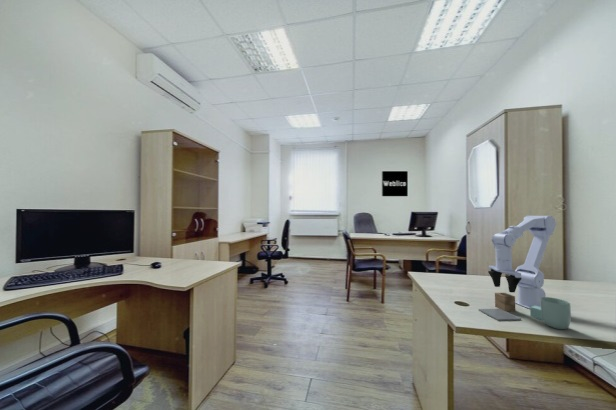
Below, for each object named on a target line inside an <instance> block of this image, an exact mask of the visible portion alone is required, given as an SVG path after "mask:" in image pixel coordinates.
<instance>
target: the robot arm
mask: <svg viewBox="0 0 616 410" xmlns="http://www.w3.org/2000/svg"><path fill="white" fill-rule="evenodd" d="M556 226H557V223H556V220H555V218H554V217H553V216H552V215H526V216H524V217H523V221H521V222H520V223H518V225H510V226H508V228H506V229H504V230H502V231H501V232H498V233H495V234H493V235H492V238H491V242H492V244H493V248H494V250H495V252H494V253H495V265H488V272H487V273H488V274H489V275H490V278H491V280H492V283H493V286H494V287H495V288H500V287H501V278H502V274H505V279H506V281H507V286H508V292H509V293H516V290H517V300H515V304H517V305H519V306H522V307H525V308H527V309H529V310H530V307H532V306H539V307H541V298H542V297H547V296H546V292H545V290H544V289H543V288H542V287H543V285H544V284H545V274H544V272H543V271H542V270H540V267H541V263H542V261H543V258H544V254H545V252H546V248H547V246H548V243H549V240H550V237H551V236H552V235H554V232H555V228H556ZM526 231H528V232H529V233H530V234H531V235H533V238H532V241H531V244H530V245H529V246H530V247H529V249H528V252H527V254H526V258H525V261H524V263H523V264H521V265H518V266H517V267H516V269H515V270H514V269H513V259H512V247H513V246H514V245H515V243H516V241H517V240H518V239H519V238H521V237H523V236H524V232H526Z"/></svg>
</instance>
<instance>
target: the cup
mask: <svg viewBox="0 0 616 410" xmlns="http://www.w3.org/2000/svg"><path fill="white" fill-rule="evenodd" d="M541 315H542V319H543V320H542V321H543V323H544V324H545V325H547V326H549V327H551V328H553V329H558V330H567V329H568V328H569V327H570V326H571V321H572V310H571V303H570V302H569V301H567V300H564V299H561V298H556V297H549V296H546V297H542V298H541Z"/></svg>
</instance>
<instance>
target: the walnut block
mask: <svg viewBox="0 0 616 410" xmlns="http://www.w3.org/2000/svg"><path fill="white" fill-rule="evenodd" d="M515 301H516V296H515V295H512V294H510V293H507V292H494V305H495V306H494V307H495V308H496V309H502V310H504V311H506V312H516V303H515Z"/></svg>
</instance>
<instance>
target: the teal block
mask: <svg viewBox="0 0 616 410" xmlns="http://www.w3.org/2000/svg"><path fill="white" fill-rule="evenodd" d="M529 310H530V311H529V312H530V317H531V318H536V319H538V320H541V321H543V319H542V315H541V307H539V306H532V307H530V309H529Z"/></svg>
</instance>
